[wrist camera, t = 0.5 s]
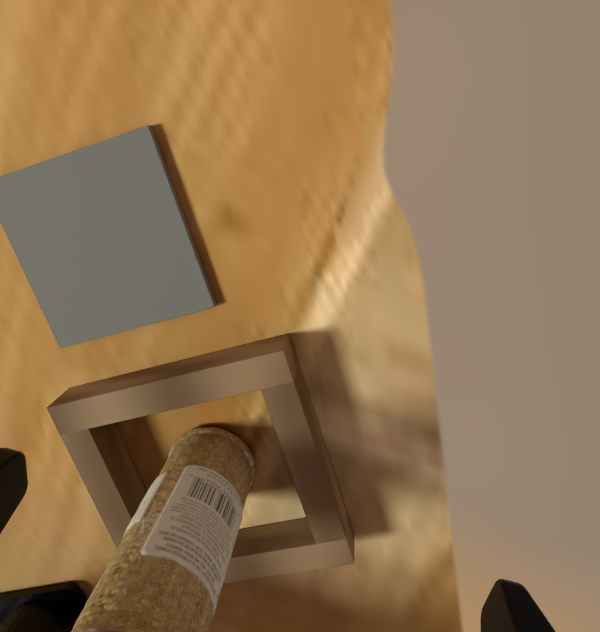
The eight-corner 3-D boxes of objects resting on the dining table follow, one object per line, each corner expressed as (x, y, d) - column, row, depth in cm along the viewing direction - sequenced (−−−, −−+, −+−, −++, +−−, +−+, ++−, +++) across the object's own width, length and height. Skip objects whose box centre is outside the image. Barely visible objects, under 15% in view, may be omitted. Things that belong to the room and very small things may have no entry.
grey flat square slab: (64, 344, 25) (60, 348, 25) (-12, 182, 23) (-19, 183, 22) (216, 304, 23) (214, 307, 23) (151, 125, 21) (147, 125, 21)
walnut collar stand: (155, 567, 29) (141, 596, 27) (69, 388, 26) (46, 408, 24) (354, 533, 27) (354, 563, 25) (288, 333, 24) (283, 350, 22)
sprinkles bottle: (154, 443, 26) (-30, 726, 14) (229, 409, 25) (102, 682, 13) (202, 510, 27) (72, 829, 15) (275, 480, 26) (202, 797, 14)
